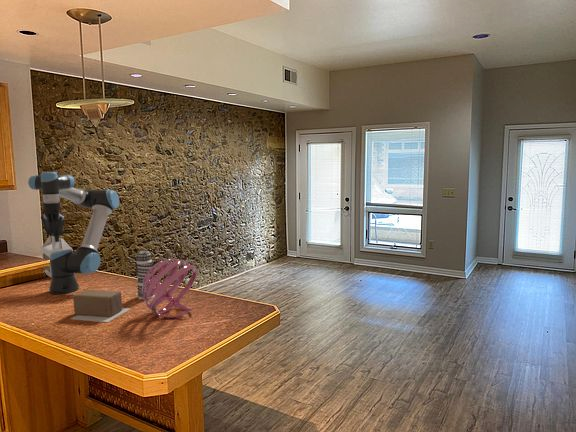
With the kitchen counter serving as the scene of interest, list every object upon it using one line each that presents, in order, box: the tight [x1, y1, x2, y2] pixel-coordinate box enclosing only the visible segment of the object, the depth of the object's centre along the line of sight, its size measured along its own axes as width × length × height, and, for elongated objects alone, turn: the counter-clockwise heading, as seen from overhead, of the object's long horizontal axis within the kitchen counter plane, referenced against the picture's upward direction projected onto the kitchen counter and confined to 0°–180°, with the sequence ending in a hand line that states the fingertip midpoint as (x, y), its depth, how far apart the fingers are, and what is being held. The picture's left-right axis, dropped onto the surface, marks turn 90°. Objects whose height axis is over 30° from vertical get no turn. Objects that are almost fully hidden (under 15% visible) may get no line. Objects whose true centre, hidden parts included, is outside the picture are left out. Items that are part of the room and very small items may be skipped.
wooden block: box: [72, 289, 123, 317], centre depth 212 cm, size 10×10×20 cm
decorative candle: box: [134, 250, 155, 300], centre depth 235 cm, size 9×9×25 cm
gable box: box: [40, 234, 76, 279], centre depth 287 cm, size 22×13×28 cm, turn 42°
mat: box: [70, 307, 131, 323], centre depth 212 cm, size 18×20×1 cm
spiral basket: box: [142, 257, 198, 319], centre depth 209 cm, size 28×28×27 cm
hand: (55, 248), depth 225 cm, fingers closed
